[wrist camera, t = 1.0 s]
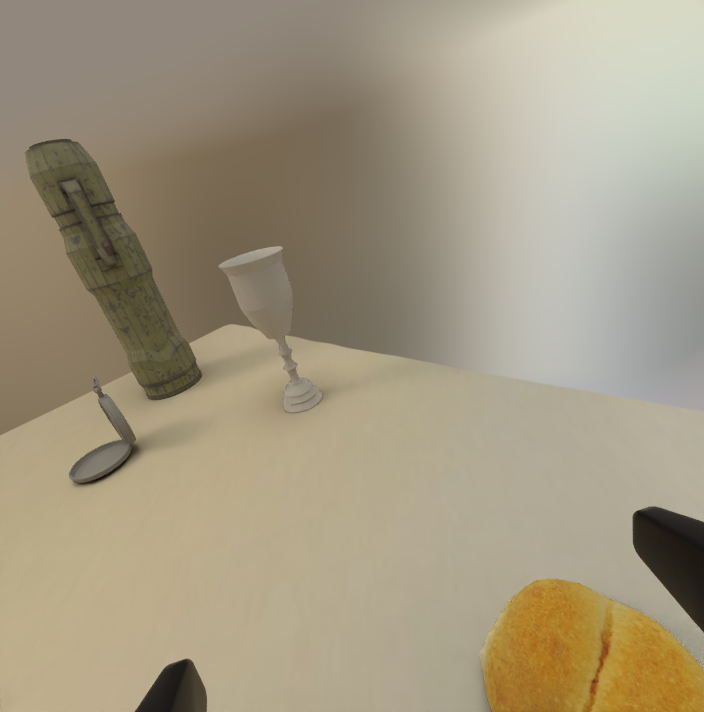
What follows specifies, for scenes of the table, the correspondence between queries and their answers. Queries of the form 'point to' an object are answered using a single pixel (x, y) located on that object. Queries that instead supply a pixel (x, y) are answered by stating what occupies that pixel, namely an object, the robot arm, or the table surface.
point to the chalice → (271, 313)
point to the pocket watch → (105, 445)
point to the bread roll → (585, 656)
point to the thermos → (112, 266)
